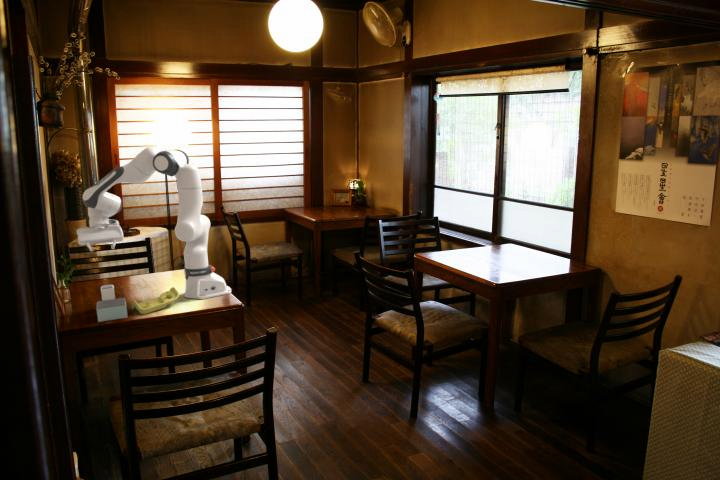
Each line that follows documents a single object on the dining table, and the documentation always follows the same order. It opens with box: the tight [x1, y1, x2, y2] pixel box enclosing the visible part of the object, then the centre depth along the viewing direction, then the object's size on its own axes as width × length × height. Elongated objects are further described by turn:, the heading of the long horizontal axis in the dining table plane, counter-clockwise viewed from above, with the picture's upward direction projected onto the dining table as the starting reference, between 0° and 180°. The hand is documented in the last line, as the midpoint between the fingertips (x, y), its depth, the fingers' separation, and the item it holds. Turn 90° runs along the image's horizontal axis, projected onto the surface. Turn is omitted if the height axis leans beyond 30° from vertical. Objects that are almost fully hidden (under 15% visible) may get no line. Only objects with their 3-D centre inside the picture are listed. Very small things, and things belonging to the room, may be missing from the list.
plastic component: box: [131, 286, 180, 315], centre depth 275 cm, size 20×7×10 cm
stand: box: [96, 297, 129, 323], centre depth 265 cm, size 12×12×6 cm
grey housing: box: [100, 284, 116, 301], centre depth 276 cm, size 6×6×11 cm
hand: (102, 249), depth 283 cm, fingers open, 8 cm apart
